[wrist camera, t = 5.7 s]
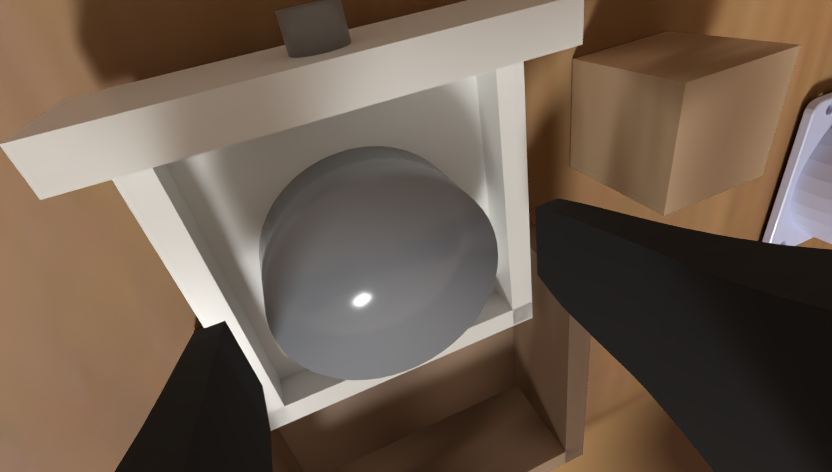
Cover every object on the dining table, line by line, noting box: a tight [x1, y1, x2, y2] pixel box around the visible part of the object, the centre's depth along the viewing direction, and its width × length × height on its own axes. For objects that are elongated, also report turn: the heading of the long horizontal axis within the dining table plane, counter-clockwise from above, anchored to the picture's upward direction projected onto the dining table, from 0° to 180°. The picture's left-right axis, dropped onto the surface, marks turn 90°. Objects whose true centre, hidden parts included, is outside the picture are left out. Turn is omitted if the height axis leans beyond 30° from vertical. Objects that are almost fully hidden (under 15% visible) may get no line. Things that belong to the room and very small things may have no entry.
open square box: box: [194, 221, 591, 472], centre depth 15 cm, size 11×9×4 cm
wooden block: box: [570, 31, 801, 216], centre depth 13 cm, size 4×4×4 cm
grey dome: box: [259, 146, 498, 380], centre depth 11 cm, size 6×6×2 cm
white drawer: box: [0, 0, 584, 431], centre depth 11 cm, size 10×10×3 cm
